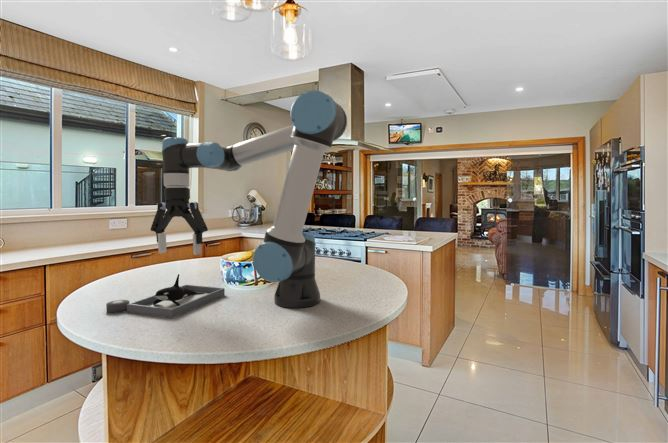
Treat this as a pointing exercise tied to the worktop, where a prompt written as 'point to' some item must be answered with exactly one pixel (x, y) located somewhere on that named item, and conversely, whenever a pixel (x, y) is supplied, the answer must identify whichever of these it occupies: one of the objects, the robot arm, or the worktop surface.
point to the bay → (169, 307)
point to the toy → (173, 293)
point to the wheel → (117, 306)
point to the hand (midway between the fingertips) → (179, 253)
